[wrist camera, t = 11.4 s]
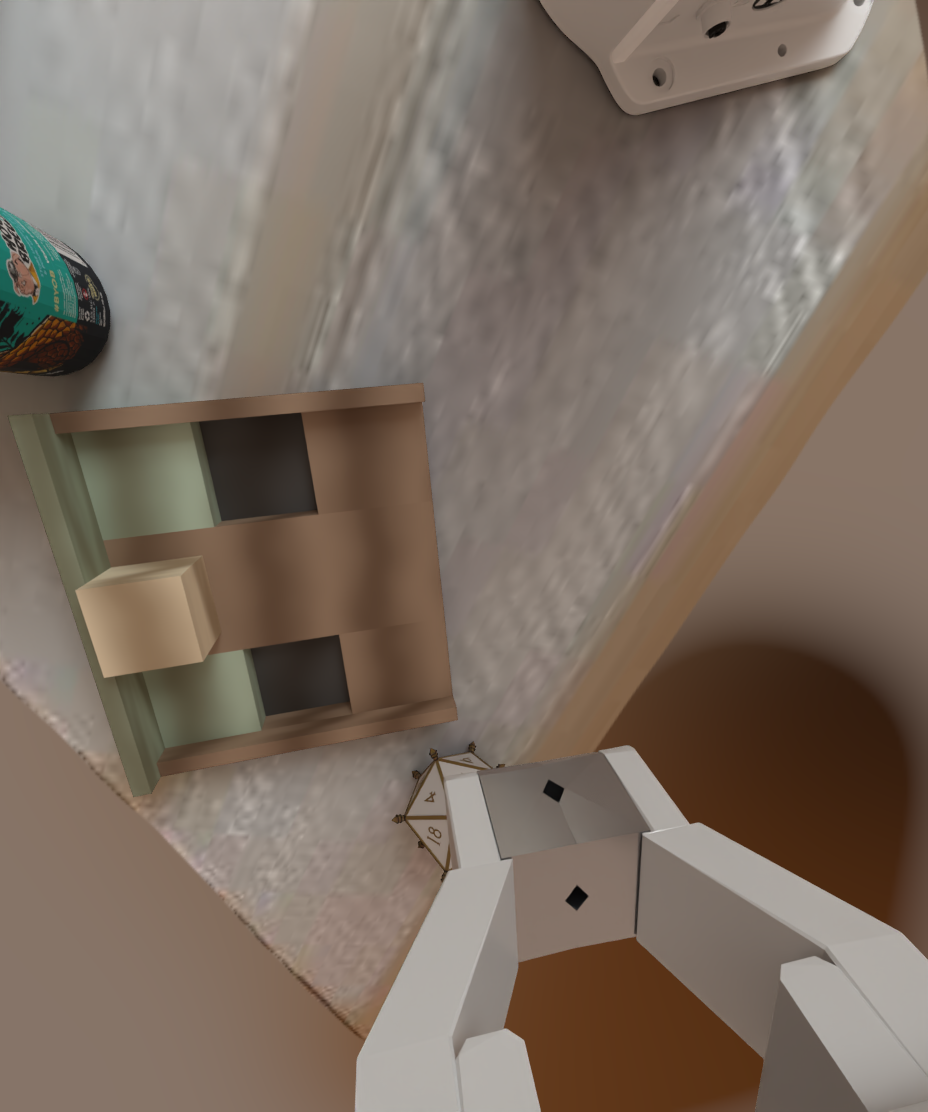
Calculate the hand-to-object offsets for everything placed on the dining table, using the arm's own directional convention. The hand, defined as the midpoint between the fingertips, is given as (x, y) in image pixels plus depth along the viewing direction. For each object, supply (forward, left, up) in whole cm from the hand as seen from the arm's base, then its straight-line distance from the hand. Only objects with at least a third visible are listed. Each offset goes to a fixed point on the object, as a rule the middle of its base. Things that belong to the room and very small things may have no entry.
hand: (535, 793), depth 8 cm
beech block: (+15, +4, -25) cm, 30 cm away
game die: (-1, +22, -28) cm, 35 cm away
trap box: (+8, +4, -27) cm, 29 cm away
